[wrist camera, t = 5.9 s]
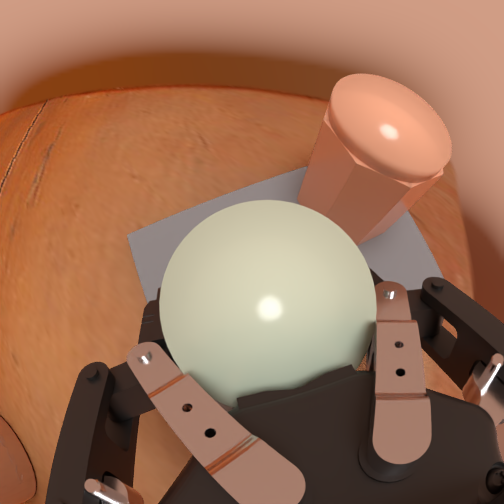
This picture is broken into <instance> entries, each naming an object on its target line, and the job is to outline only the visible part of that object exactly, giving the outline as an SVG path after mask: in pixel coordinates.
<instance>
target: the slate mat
mask: <svg viewBox="0 0 504 504" xmlns="http://www.w3.org/2000/svg"><path fill="white" fill-rule="evenodd" d="M307 168H308V166H306V167H303V168H300V169H297V170H293V171H290V172H287V173H284V174H281V175H279V176H276V177H273V178H270V179H267V180H264V181H261V182H258V183H255V184H253V185H250V186H247V187H244V188H242V189H239V190H236V191H233V192H231V193H228V194H225V195H223V196H220V197H217V198H215V199H212V200H210V201H207V202H205V203H202V204H199V205H197V206H194V207H192V208H189V209H187V210H184V211H182V212H179V213H177V214H175V215H172V216H170V217H167V218H165V219H163V220H160V221H158V222H156V223H153V224H151V225H149V226H146V227H144V228H142V229H139V230H137V231H135V232H133V233H130V234H128V235H127V237H128V241H129V244H130V248H131V251H132V255H133V258H134V262H135V265H136V269H137V272H138V275H139V278H140V281H141V285H142V288H143V291H144V294H145V297H146V300H147V303H149V301H152V300H156V298H157V292H158V288H160V287H161V286H162V281H163V277H164V274H165V271H166V269H167V266H168V263H169V261H170V259H171V257H172V256H173V254H174V252H175V250H176V249H177V247H178V246H179V244H180V243H181V242H182V240H183V239H184V238H185V237H186V236H187V235H188V234H189V233H190V232H191V231H192V229H193V228H195V227H196V226H197V225H198V224H200V223H201V222H202V221H203V220H205V219H206V218H208V217H209V216H211V215H213V214H214V213H216V212H218V211H220V210H223V209H225V208H227V207H230V206H233V205H236V204H239V203H244V202H249V201H256V200H278V201H285V202H291V203H295V204H298V205H300V203H299V202H298V200H297V197H298V194H299V191H300V188H301V185H302V182H303V179H304V176H305V173H306V171H307ZM357 247H358V249H359V250H360V252H361V253H362V255H363V257H364V258H365V261H366V263H367V265H368V267H369V268H371V269H372V270H373V271H374V272H375V273H376V274H377V275H378V276H379V277H380V278H381V279H382V280H384V281H393V282H397V283H399V284H401V285H403V286H404V287H405V289H406V290H415V289H421V288H422V283H423V281H424V280H425V279H426V278H428V277H440V278H443V279H444V277H443V275H442V273H441V271H440V269H439V267H438V265H437V263H436V261H435V259H434V257H433V255H432V253H431V251H430V249H429V247H428V245H427V244H426V242H425V240H424V238H423V236H422V234H421V233H420V231H419V229H418V227H417V226H416V224H415V222H414V220H413V219H412V217H411V215H410V214H409V212H408V210H407V211H406V212H405V213H404V214H403V215H402V216H401V217H400V218H399V219H398V220H397V221H396V222H395V223H394V224H392V225H391V226H390V227H389V228H388V229H387V230H386V231H385V232H384V233H382V234H380V235H378V236H376V237H374V238H372V239H370V240H368V241H366V242H364V243H362V244H360V245H358V246H357ZM366 353H367V352H366ZM215 401H216V400H215ZM216 402H217V403H218V404H219V405H220V406H221V407H222V408H223V409H224V410H225V411H226V412H228V411H230V410H232V409H233V408H232V407H229V406H227V405H225V404H222V403H220V402H218V401H216Z"/></svg>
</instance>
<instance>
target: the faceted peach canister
mask: <svg viewBox="0 0 504 504" xmlns="http://www.w3.org/2000/svg"><path fill="white" fill-rule="evenodd" d="M451 152H452V145H451V139H450V137H449V133H448V131H447V129H446V127H445V125H444V123H443V122H442V120H441V119H440V117H439V116H438V114H437V113H436V112H435V111H434V109H432V107H430V105H429V104H428V103H427V102H426V101H424V100H423V99H422V98H421V97H420V96H418V95H417V94H416V93H414V92H413V91H411V90H410V89H408V88H406V87H405V86H403V85H401V84H399V83H397V82H395V81H392V80H390V79H387V78H384V77H381V76H377V75H371V74H353V75H349V76H346V77H344V78H342V79H341V80H339V81H338V82H337V84H336V85H335V87H334V89H333V92H332V95H331V98H330V101H329V104H328V107H327V111H326V114H325V117H324V119H323V122H322V125H321V128H320V131H319V134H318V137H317V140H316V143H315V146H314V149H313V152H312V155H311V158H310V162H309V165H308V168H307V171H306V173H305V176H304V179H303V182H302V185H301V188H300V191H299V194H298V197H297V200H298V202H299V203H300V205H302V206H305V207H307V208H310V209H312V210H314V211H316V212H318V213H320V214H322V215H324V216H325V217H327V218H329V219H330V220H331V221H333V222H334V223H335V224H337V225H338V226H339V227H340V228H341V229H342V230H343V231H344V232H345V233H346V234H347V235H348V236H349V237H350V238H351V239H352V240H353V242H354V243H355V244H356V246H358V245H360V244H362V243H364V242H366V241H368V240H370V239H372V238H374V237H376V236H378V235H380V234H382V233H384V232H385V231H386V230H387V229H388V228H389V227H390V226H391V225H392V224H394V223H395V222H396V221H397V220H398V219H399V218H400V217H401V216H402V215H403V214H404V213H405V212H406V211H407V210H408V209H409V208H410V207H411V206H412V205H413V204H414V203H415V202H417V201H418V200H419V199H420V198H421V197H422V196H423V195H424V194H425V193H426V192H427V191H428V190H429V189H430V188H431V187H432V186H433V185H434V184H435V182H436V181H437V180H438V179H439V178H440V177H441V176H442V175H443V167H444V166H445V165H446V164H447V163H448V161H449V159H450V157H451Z"/></svg>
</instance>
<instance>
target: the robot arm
mask: <svg viewBox="0 0 504 504" xmlns="http://www.w3.org/2000/svg"><path fill="white" fill-rule="evenodd" d="M369 270H370V273H371V276H372V279H373V282H374V287H375V293H376V307H377V311H376V320H374V332H373V337H372V340H371V342H370V345H369V348H368V350H367V357H366V371H355V369H354V367H353V366H352V364H350V365H347V366H345V367H342V368H339V369H336V370H333V371H330V372H328V373H325V374H323V375H322V376H320V377H318V378H316V379H315V380H313V381H311V382H310V383H308V384H306V385H304V386H303V387H301V388H298V389H289V390H274V391H264V392H260V393H256V394H252V395H247V396H243V397H239V398H237V403H238V407H236V408H233V409H232V410H230V411H228V412H226V411H225V410H224V409H223V408H222V407H221V406H220V405H219V404H218V403H217V402H216V401H215V400H214V399H213V398H212V397H211V396H210V395H209V394H208V393H207V392H206V391H205V390H204V389H203V388H202V387H201V386H200V385H199V384H198V383H197V382H196V381H195V380H194V379H193V378H192V377H191V376H190V375H189V374H188V373H187V372H185V373H183V372H182V371H181V370H180V368H179V367H178V365H177V364H176V362H175V361H174V359H173V357H172V355H171V353H170V351H169V349H168V347H167V344H166V341H165V338H164V335H163V332H162V326H161V320H160V305H159V301H160V292H161V287H160V288H158V292H157V298H156V300H152V301H149V303H148V304H147V305H146V307H145V308H144V313H143V318H142V324H141V329H140V335H139V341H138V345H136V346H135V347H133V348H132V349H131V350H130V352H129V353H128V355H127V361H126V362H125V363H123V364H120V365H118V366H116V367H113V368H111V369H109V368H108V367H107V365H106V364H104V363H102V362H94V363H91V364H89V365H87V366H85V367H84V368H83V369H82V370H81V372H80V373H79V375H78V378H77V381H76V384H75V387H74V390H73V393H72V396H71V399H70V402H69V405H68V408H67V411H66V415H65V418H64V421H63V425H62V428H61V432H60V436H59V440H58V443H57V447H56V451H55V456H54V460H53V464H52V469H51V474H50V479H49V484H48V490H47V496H46V502H45V504H144V501H143V498H142V496H141V495H140V494H139V493H138V492H137V491H136V490H135V489H133V477H134V464H135V452H136V443H137V433H138V425H139V417H140V415H141V414H143V413H145V412H148V411H150V410H153V409H155V408H157V409H158V411H159V412H160V414H161V415H162V416H163V418H164V419H165V420H166V422H167V423H168V424H169V426H170V427H171V428H172V430H173V431H174V432H175V433H176V435H177V436H178V437H179V439H180V440H181V441H182V442H183V443H184V445H185V446H186V447H187V448H188V450H189V451H190V452H191V453H192V454H193V455H192V457H191V458H190V460H189V461H188V463H187V464H186V466H185V467H184V469H183V470H182V471H181V473H180V474H179V476H178V477H177V479H176V480H175V481H174V483H173V484H172V486H171V487H170V488H169V490H168V491H167V492H166V494H165V495H164V497H163V498H162V499H161V501H160V502H159V503H158V504H504V462H503V460H502V457H501V454H500V451H499V447H498V441H497V433H496V426H497V425H498V424H502V423H504V324H503V323H502V322H501V321H500V320H498V319H497V318H496V317H495V316H493V315H492V314H491V313H490V312H488V311H487V310H486V309H484V308H483V307H482V306H481V305H479V304H478V303H477V302H475V301H474V300H473V299H471V298H470V297H469V296H467V295H466V294H465V293H463V292H462V291H461V290H459V289H458V288H457V287H455V286H454V285H452V284H451V283H450V282H448V281H447V280H445V279H443V278H440V277H428V278H426V279H425V280H424V281H423V283H422V288H421V289H415V290H406V289H405V287H404V286H403V285H401V284H399V283H397V282H393V281H384V280H382V279H381V278H380V277H379V276H378V275H377V274H376V273H375V272H374V271H373V270H372V269H371V268H369ZM444 319H446V320H447V321H448V322H449V323H450V324H451V325H452V326H454V327H455V329H456V331H457V339H456V338H455V337H454V336H453V335H452V334H451V333H450V332H449V331H447V330H446V329H445V328H444V327H443V326H442V323H443V320H444ZM421 348H422V349H423V350H424V351H425V352H426V353H427V354H428V355H429V356H430V357H431V358H432V359H433V360H434V361H435V362H436V363H437V364H438V365H439V367H440V368H441V369H442V370H443V371H444V372H445V373H446V374H447V375H448V376H449V377H450V378H451V379H452V380H453V381H454V383H455V384H456V385H457V386H458V387H459V388H460V389H461V390H462V394H463V398H464V400H465V401H464V400H460V399H457V398H454V397H451V396H448V395H445V394H442V393H439V392H436V391H433V390H430V389H427V388H425V376H424V366H423V358H422V350H421ZM35 491H36V481H35V475H34V472H33V469H32V466H31V463H30V461H29V459H28V456H27V454H26V452H25V450H24V448H23V447H22V445H21V443H20V441H19V440H18V438H17V436H16V435H15V433H14V432H13V431H12V429H11V428H10V427H9V425H8V424H7V423H6V422H5V421H4V420H3V418H2V417H1V416H0V504H21V503H23V502H25V501H27V500H29V499H31V498H32V497H33V496H34V494H35Z"/></svg>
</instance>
